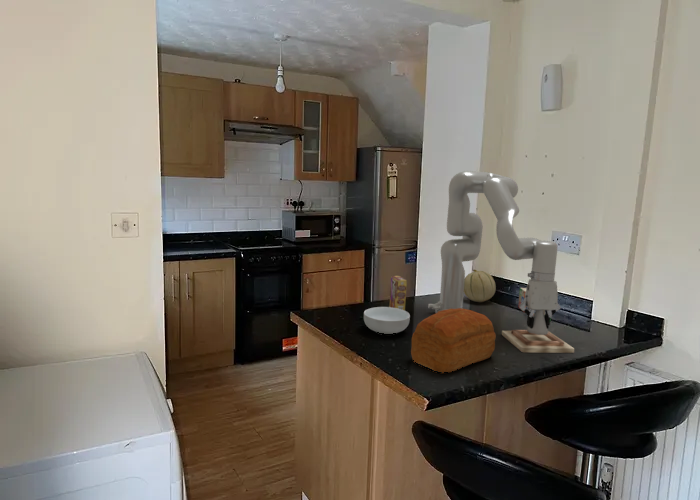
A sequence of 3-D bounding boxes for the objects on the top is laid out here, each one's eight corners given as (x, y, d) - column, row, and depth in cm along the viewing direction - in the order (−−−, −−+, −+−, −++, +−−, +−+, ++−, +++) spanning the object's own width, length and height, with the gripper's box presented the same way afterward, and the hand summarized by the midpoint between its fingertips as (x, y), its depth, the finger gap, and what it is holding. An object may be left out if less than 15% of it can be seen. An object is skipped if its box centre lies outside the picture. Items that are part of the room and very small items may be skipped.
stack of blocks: (517, 307, 219) (520, 280, 217) (531, 308, 219) (534, 281, 217) (535, 321, 197) (538, 292, 196) (551, 322, 198) (554, 293, 196)
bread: (499, 358, 156) (503, 310, 154) (446, 378, 139) (450, 325, 136) (458, 343, 168) (461, 299, 166) (405, 360, 151) (408, 311, 149)
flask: (547, 330, 173) (550, 303, 171) (549, 336, 166) (551, 308, 164) (526, 327, 175) (528, 301, 173) (526, 333, 168) (529, 305, 167)
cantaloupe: (495, 307, 217) (497, 274, 215) (461, 303, 221) (464, 271, 218) (493, 299, 232) (495, 268, 229) (461, 296, 235) (464, 266, 233)
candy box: (405, 316, 197) (407, 280, 195) (395, 317, 196) (397, 280, 194) (398, 310, 206) (400, 275, 204) (388, 310, 205) (390, 275, 203)
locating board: (522, 352, 162) (522, 344, 161) (501, 334, 179) (502, 327, 179) (574, 352, 163) (574, 345, 163) (548, 335, 181) (549, 328, 180)
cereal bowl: (353, 330, 178) (354, 312, 176) (382, 321, 190) (383, 304, 189) (390, 342, 166) (391, 323, 165) (418, 332, 178) (419, 313, 177)
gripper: (523, 278, 163) (518, 330, 166) (572, 279, 164) (566, 331, 167) (514, 274, 170) (510, 323, 173) (560, 274, 172) (555, 324, 175)
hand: (537, 326), depth 170 cm, fingers closed on flask, 4 cm apart
